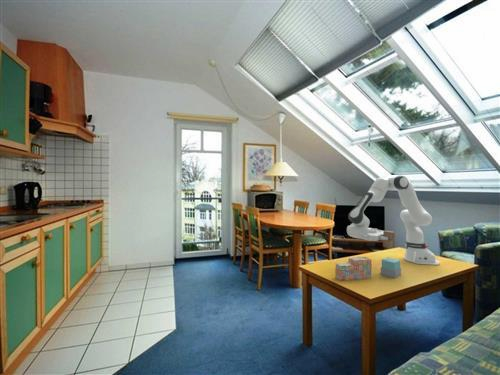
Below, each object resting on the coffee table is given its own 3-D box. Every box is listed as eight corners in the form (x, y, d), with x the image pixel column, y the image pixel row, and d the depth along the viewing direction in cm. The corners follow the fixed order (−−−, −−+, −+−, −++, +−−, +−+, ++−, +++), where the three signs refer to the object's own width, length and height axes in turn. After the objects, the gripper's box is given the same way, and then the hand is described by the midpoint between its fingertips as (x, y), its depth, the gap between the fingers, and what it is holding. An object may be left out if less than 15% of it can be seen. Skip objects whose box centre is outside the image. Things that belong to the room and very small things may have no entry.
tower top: (387, 264, 170) (387, 257, 170) (400, 267, 164) (400, 260, 164) (381, 267, 166) (381, 259, 165) (394, 270, 159) (394, 262, 159)
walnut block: (386, 245, 170) (386, 230, 169) (394, 246, 166) (394, 231, 165) (383, 246, 167) (383, 231, 166) (391, 248, 163) (391, 232, 162)
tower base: (386, 271, 171) (386, 264, 171) (400, 275, 164) (401, 267, 164) (380, 274, 165) (380, 267, 165) (395, 278, 159) (395, 270, 158)
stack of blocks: (340, 281, 154) (340, 261, 154) (335, 277, 161) (335, 258, 160) (371, 278, 158) (371, 259, 158) (365, 275, 165) (365, 256, 164)
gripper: (362, 231, 170) (383, 235, 159) (376, 228, 182) (396, 231, 171) (361, 240, 170) (383, 245, 159) (376, 236, 182) (396, 240, 172)
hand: (390, 237), depth 165 cm, fingers closed on walnut block, 5 cm apart
